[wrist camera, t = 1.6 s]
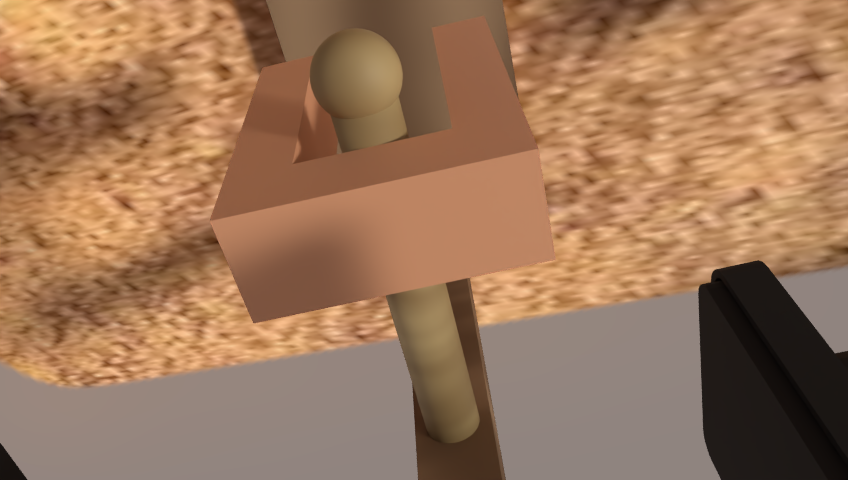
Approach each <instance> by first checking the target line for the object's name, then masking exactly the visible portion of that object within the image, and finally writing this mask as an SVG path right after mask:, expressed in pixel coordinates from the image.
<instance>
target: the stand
mask: <svg viewBox="0 0 848 480" xmlns="http://www.w3.org/2000/svg"><path fill="white" fill-rule="evenodd" d="M266 2H267V5H268V8H269V11H270V14H271V18H272V21H273V24H274V27H275V30H276V33H277V36H278V39H279V42H280V45H281V48H282V51H283V54H284V57H285V60H286V62H288V61H292V60H296V59H301V58H305V57H309V56H313V55H314V56H313V58H312V62H311V65H310V84H311V89H312V91H313V94H314V96H315V98H316V100H317V102H318V103H319V104H320V106H321V107H322V108H323V109H324V110H325V111H326V112H327V113H329V114H330V115H331V119H332V122H333V125H334V128H335V132H336V135H337V138H338V145H337V154H341V153H345V152H350V151H354V150H359V149H363V148H367V147H372V146H376V145H381V144H385V143H390V142H394V141H399V140H403V139H408V138H412V137H416V136H421V135H425V134H430V133H434V132H439V131H443V130H448V129H452V125H451V120H450V115H449V110H448V105H447V100H446V96H445V91H444V86H443V81H442V76H441V71H440V66H439V61H438V56H437V51H436V47H435V42H434V37H433V32H432V28H433V27H437V26H442V25H446V24H450V23H454V22H459V21H463V20H467V19H471V18H476V17H480V16H485V19H486V21H487V24H488V26H489V29H490V31H491V34H492V36H493V38H494V41H495V43H496V46H497V48H498V51H499V53H500V56H501V58H502V61H503V63H504V65H505V68H506V70H507V73H508V75H509V78H510V80H511V83H512V85H513V88H514V90H515V93H516V95H517V97H518V93H517V87H516V81H515V75H514V69H513V63H512V57H511V51H510V45H509V39H508V33H507V26H506V20H505V14H504V8H503V2H502V0H266ZM518 100H519V99H518ZM386 298H387V301H388V305H389V308H390V311H391V315H392V318H393V321H394V324H395V328H396V331H397V334H398V337H399V341H400V344H401V347H402V350H403V354H404V357H405V360H406V363H407V367H408V370H409V373H410V376H411V380H412V384H413V401H414V418H415V435H416V451H417V467H418V480H506V479H505V473H504V468H503V462H502V456H501V450H500V445H499V440H498V434H497V428H496V423H495V417H494V411H493V406H492V400H491V395H490V389H489V383H488V378H487V372H486V367H485V361H484V356H483V350H482V344H481V339H480V333H479V328H478V322H477V316H476V311H475V305H474V300H473V294H472V289H471V283H470V278H466V279H461V280H457V281H452V282H447V283H442V284H438V285H433V286H428V287H423V288H419V289H414V290H409V291H404V292H400V293H395V294H390V295H386Z"/></svg>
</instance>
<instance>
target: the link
mask: <svg viewBox="0 0 848 480" xmlns="http://www.w3.org/2000/svg"><path fill="white" fill-rule="evenodd" d="M432 32H433V37H434V42H435V47H436V51H437V56H438V61H439V66H440V71H441V76H442V81H443V86H444V91H445V96H446V100H447V105H448V110H449V115H450V120H451V125H452V129H448V130H443V131H439V132H434V133H430V134H425V135H421V136H416V137H412V138H408V139H403V140H399V141H394V142H390V143H385V144H381V145H376V146H372V147H367V148H363V149H359V150H354V151H350V152H345V153H341V154H337V145H338V138H337V135H336V132H335V128H334V125H333V122H332V119H331V115H330V114H329V113H327V112H326V111H325V110H324V109H323V108H322V107H321V106H320V104H319V103H318V102H317V100H316V98H315V96H314V94H313V91H312V89H311V84H310V65H311V62H312V58H313V56H314V55H313V56H309V57H305V58H301V59H296V60H292V61H288V62H283V63H279V64H275V65H271V66H266V67H263V68H262V71H261V74H260V77H259V80H258V83H257V85H256V88H255V91H254V94H253V97H252V100H251V103H250V106H249V109H248V111H247V114H246V117H245V120H244V123H243V126H242V129H241V132H240V135H239V138H238V140H237V143H236V146H235V149H234V152H233V155H232V158H231V161H230V164H229V167H228V169H227V172H226V175H225V178H224V181H223V184H222V187H221V190H220V193H219V196H218V198H217V201H216V204H215V207H214V210H213V213H212V216H211V219H210V223H211V226H212V228H213V230H214V233H215V235H216V237H217V239H218V242H219V244H220V246H221V249H222V251H223V253H224V256H225V258H226V260H227V263H228V265H229V267H230V270H231V272H232V274H233V277H234V279H235V281H236V284H237V286H238V288H239V291H240V293H241V295H242V298H243V300H244V302H245V305H246V307H247V309H248V312H249V314H250V316H251V319H252V321H253V323H257V322H262V321H267V320H271V319H276V318H281V317H286V316H290V315H295V314H300V313H305V312H309V311H314V310H319V309H324V308H328V307H333V306H338V305H343V304H347V303H352V302H357V301H362V300H366V299H371V298H376V297H381V296H385V295H390V294H395V293H400V292H404V291H409V290H414V289H419V288H423V287H428V286H433V285H438V284H442V283H447V282H452V281H457V280H461V279H466V278H471V277H476V276H480V275H485V274H490V273H495V272H499V271H504V270H509V269H514V268H518V267H523V266H528V265H533V264H537V263H542V262H547V261H552V260H556V259H555V252H554V246H553V240H552V233H551V227H550V220H549V214H548V207H547V201H546V195H545V188H544V182H543V175H542V169H541V163H540V156H539V150H538V147H537V144H536V142H535V139H534V137H533V134H532V132H531V129H530V127H529V124H528V122H527V120H526V117H525V115H524V112H523V110H522V107H521V105H520V102H519V100H518V97H517V95H516V93H515V90H514V88H513V85H512V83H511V80H510V78H509V75H508V73H507V70H506V68H505V65H504V63H503V61H502V58H501V56H500V53H499V51H498V48H497V46H496V43H495V41H494V38H493V36H492V34H491V31H490V29H489V26H488V24H487V21H486V19H485V16H480V17H476V18H471V19H467V20H463V21H459V22H454V23H450V24H446V25H442V26H437V27H433V28H432Z"/></svg>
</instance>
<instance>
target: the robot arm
mask: <svg viewBox="0 0 848 480" xmlns="http://www.w3.org/2000/svg"><path fill="white" fill-rule="evenodd" d="M698 294H699V324H700V351H701V378H702V408H703V431H704V438H705V442H706V446H707V449H708V452H709V455H710V457H711V460H712V462H713V464H714V466H715V468H716V470H717V472H718V474H719V476H720V478H721V480H848V351H845V352H840V353H834V352H833V350H832V349H831V348H830V347H829V345H828V344H827V343H826V341H825V340H824V339H823V338H822V336H821V335H820V334H819V333H818V331H817V330H816V329H815V327H814V326H813V325H812V323H811V322H810V321H809V320H808V318H807V317H806V316H805V315H804V313H803V312H802V311H801V309H800V308H799V307H798V305H797V304H796V303H795V302H794V300H793V299H792V298H791V297H790V295H789V294H788V293H787V291H786V290H785V289H784V287H783V286H782V285H781V284H780V282H779V281H778V280H777V278H776V277H775V276H774V274H773V273H772V272H771V271H770V269H769V268H768V267H767V266H766V265H765V264H764V263H763V262H762V261H759V260H758V261H753V262H749V263H744V264H739V265H735V266H730V267H726V268H721V269H716V270H714V271H713V273H712V276H711V283H706V284H702V285H700V287H699V293H698ZM0 480H27V479H26V477H25V476H24V475H23V473H22V472H21V470H19V468H18V466H17V465H16V464H15V462H14V461H13V460H12V458H11V457H10V455H9V454H8V453H7V451H6V450H5V449H4V447H3V446H2V445H1V443H0Z"/></svg>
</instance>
